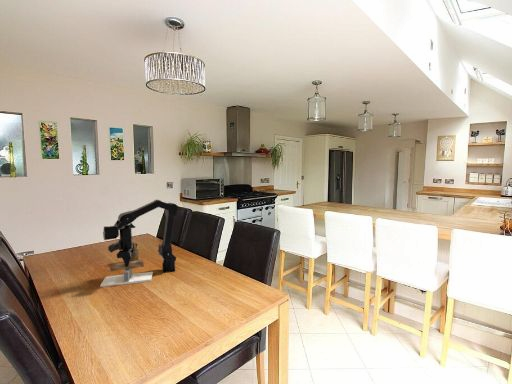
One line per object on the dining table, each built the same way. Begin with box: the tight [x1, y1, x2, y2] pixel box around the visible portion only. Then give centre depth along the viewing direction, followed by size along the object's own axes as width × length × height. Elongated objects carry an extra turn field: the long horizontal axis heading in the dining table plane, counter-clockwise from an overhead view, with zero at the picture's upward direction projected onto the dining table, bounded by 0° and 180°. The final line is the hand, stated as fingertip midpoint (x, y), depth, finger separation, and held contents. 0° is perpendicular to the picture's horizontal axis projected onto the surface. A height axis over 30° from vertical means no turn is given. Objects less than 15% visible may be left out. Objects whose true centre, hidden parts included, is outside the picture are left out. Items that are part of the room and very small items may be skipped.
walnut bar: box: [109, 259, 145, 272], centre depth 147 cm, size 16×3×3 cm, turn 113°
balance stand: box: [99, 268, 154, 288], centre depth 148 cm, size 24×11×6 cm, turn 106°
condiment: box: [130, 242, 140, 261], centre depth 174 cm, size 7×8×12 cm
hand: (127, 265), depth 147 cm, fingers closed on walnut bar, 3 cm apart
